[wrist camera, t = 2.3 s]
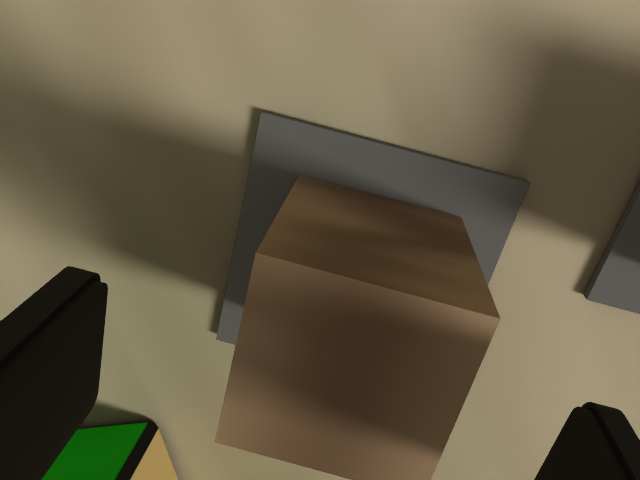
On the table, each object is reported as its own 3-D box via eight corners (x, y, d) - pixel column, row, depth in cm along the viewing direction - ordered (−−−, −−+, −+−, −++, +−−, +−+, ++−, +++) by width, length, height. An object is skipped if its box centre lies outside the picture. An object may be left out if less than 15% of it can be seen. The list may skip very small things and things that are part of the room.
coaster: (527, 180, 16) (529, 183, 16) (439, 394, 19) (440, 400, 19) (263, 110, 16) (261, 111, 16) (218, 334, 19) (215, 339, 19)
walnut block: (461, 217, 16) (500, 318, 11) (411, 353, 18) (422, 499, 13) (299, 174, 16) (255, 252, 11) (266, 314, 18) (214, 442, 13)
